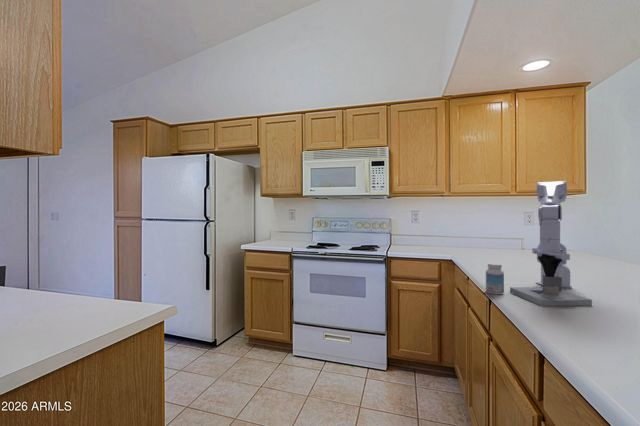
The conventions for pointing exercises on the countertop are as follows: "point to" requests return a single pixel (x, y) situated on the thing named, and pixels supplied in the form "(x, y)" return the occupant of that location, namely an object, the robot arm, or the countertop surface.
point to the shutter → (555, 294)
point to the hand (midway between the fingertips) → (549, 276)
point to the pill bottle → (494, 279)
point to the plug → (553, 281)
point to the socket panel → (536, 297)
